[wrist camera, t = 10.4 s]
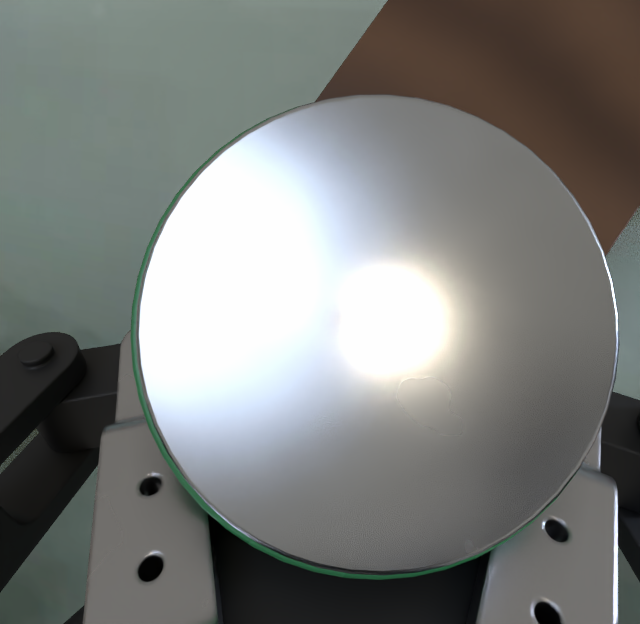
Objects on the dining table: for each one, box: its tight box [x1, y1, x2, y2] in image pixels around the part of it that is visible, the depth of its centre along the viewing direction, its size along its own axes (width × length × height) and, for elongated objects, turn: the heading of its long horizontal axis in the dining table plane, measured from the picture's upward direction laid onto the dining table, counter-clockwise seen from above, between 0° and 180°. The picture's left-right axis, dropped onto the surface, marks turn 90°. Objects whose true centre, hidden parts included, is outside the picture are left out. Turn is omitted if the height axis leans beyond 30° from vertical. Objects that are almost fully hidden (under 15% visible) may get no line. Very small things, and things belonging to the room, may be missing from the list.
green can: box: [130, 94, 619, 580], centre depth 11 cm, size 5×5×13 cm
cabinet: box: [315, 0, 640, 257], centre depth 21 cm, size 16×13×9 cm
